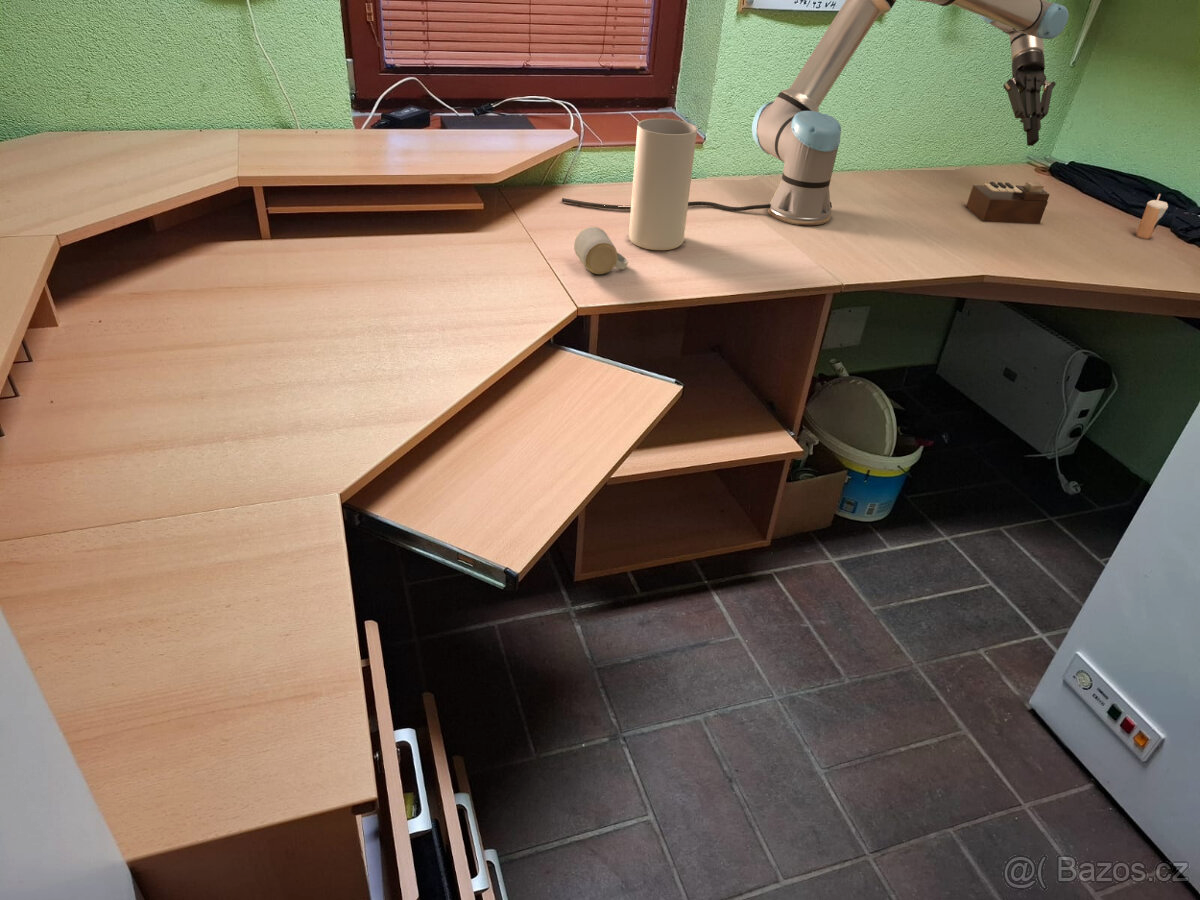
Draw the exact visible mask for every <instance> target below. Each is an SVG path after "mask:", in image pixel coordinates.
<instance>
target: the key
mask: <svg viewBox="0 0 1200 900" xmlns="http://www.w3.org/2000/svg"><path fill="white" fill-rule="evenodd" d="M1023 186H1024V189H1026V190H1027V191H1028V192H1040V193H1042V190H1044V188H1045V187H1044V185H1043V184H1042V183H1040V182H1039V181H1025V183H1024V185H1023Z"/></svg>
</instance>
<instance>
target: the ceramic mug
mask: <svg viewBox="0 0 1200 900" xmlns="http://www.w3.org/2000/svg"><path fill="white" fill-rule="evenodd" d="M573 248H574V254H575V255H576V257H577V258H578V259H579V260H580V262H581V263H582V264H583V265H584V267H585V269H587V270H588V271H589V272H591V273H592V274H595V275H604V274H607V273H609V272H611V271H612V270H613V269H614V268H616V269H619V270H625V269H626V268H627V266H628V264H629V261H628V260H627V258H626V257H625V256H624V255H622V254H621V253H620V252H618V251H617V249H616V245H614V243H613V242H612V240H611V239H610V236H609V235H608V234H607V232H605V230H603V229H602V228H601V227H597V226H589V227H586V228H584V229H582V230H581V231H580V232H579V233H578V234H577V236H576V238H575V240H574V246H573Z"/></svg>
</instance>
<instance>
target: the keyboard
mask: <svg viewBox="0 0 1200 900" xmlns="http://www.w3.org/2000/svg"><path fill="white" fill-rule="evenodd" d="M983 186H986V187H988V188H989V189H990V190H992V191H997V192H999V191H1000V192H1018V193H1022V191H1021V190H1020V189H1018V188H1017V187H1016V185H1014V184H1011V183H1010V182H1005V183H1003V182H1002V181H998V182H997V183H996V182H995V181H990V182H989V183H983Z"/></svg>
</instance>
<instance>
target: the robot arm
mask: <svg viewBox="0 0 1200 900" xmlns="http://www.w3.org/2000/svg"><path fill="white" fill-rule="evenodd" d="M897 1H898V0H845V1H844V2H843V4H842V6H841V8H840V9H839V11H837V14H836V15H835V16H834V19H833V20H832V22H831V23H830V25H829V26H828V28H827V29H826V31H825V33H823V35H822V37H821V39H820V40H819V42H818V43H817V45H816V46H815V48H814V49H813V51H812V53H811V54H810V56H809V57H808V59H807V60H806V62H805V63H804V65H803V67H802V68H801V69H800V71H799V73H798V74H797V76H796V78H795V79H794V81H793V82H792V84H791V85H790V86H789V87H788V88H786V89H783V90H780V92H778V94H777V96H776V98H774V100H772V101H768V102H767V103H763V104H762V105H761V106H760V107H759V109H758V110H757V111H756V113H755V115H754V117H753V120H752V123H751V133H752V139H753V141H754V143H755V145H756V146H757V147H758V148H759V149H761V151H762V152H764V153H766V154H767V155H768V156H769V155H770V156H772V157H774V158H775V159H778V160H779V161H781V162H783V164H784V165H783V170H782V175H781V180H780V183H779V184H778V186H777V188H776V190H775V192H774V194H773V195H772V198H771V199H770V202H769V203H767V204H753V205H746V206H729V205H725V204H720V203H717V202H712V201H703V200H702V201H701V200H700V201H698V200H697V201H688V207H693V206H707V207H713V208H716V209H721V210H725V211H730V212H731V211H732V212H744V211H751V210H763V209H768V212H767V213H768V214H769V215H770V216H771V217H772V218H774V219H776V220H778V221H780V222H783V223H787V224H791V225H797V226H808V227H809V226H810V227H811V226H820V225H824V224H826V223H828V222H829V221H830V219H831V214H832V209H833V205H832V202H831V194H830V184H831V181H832V176H833V172H834V167H835V164H836V163H835V162H836V158H837V154H838V151H839V146H840V143H841V135H842V126H841V123H840V122H839V120H838V119H836V118H835V117H833V116H832V115H830V114H827V113H822V112H820V111H819V108H820V105H822V103H823V101H824V100H825V99H826V97H827V95H828V94H829V92H830V90H831V89H832V87H833V86H834V84H835V83H836V82H837V80H838V78H839V77H840V76H841V74H842V73H843V71H844V70H845V68H846V66H847V65H848V64H849V62H850V60H851V59H852V57H853V56H854V54H855V53H856V52H857V49H858V48H859V47H860V45H861V44H862V42H863V40H864V39H865V37H867V35H868V33H869V32H870V30H871V28H872V27H873V25H874V24H875V23H876V21H877V19H878V18H879V16H880V15H882V14H887V13H889V12H890V11H891V10H892V8H893V7H894V5H895V4H896V2H897ZM916 1H918V2H925V3H931V4H934V5H937V6H940V7H948V6H951V5H952V6H955V7H957V8H960V9H962V10H965V11H967V12H970V13H973V14H975V15H977V16H979V18H980V19H981V20H982V21H984V22H985V23H986V24H988V25H991V26H993V27H994V28H996V29H998V30H1000V31H1002V32H1003V33H1005V34H1007V35H1008V36H1009V42H1010V57H1011V58H1010V59H1011V75H1012V77H1011V78H1009V79H1008V80H1007V81H1006V82H1005V83H1004V84H1003V86H1002V87H1003V89H1004V90H1005V92H1006V93H1007V96H1008V99H1009V103H1010V106H1011V108H1012V112H1013V115H1014V118H1015V119H1020V120H1019V122H1020V123H1021V124H1022V125H1023V126H1022V129H1023V132H1024V133H1025V134H1026V146H1030V147H1033V146H1034V145H1036V144H1037V143H1038V142H1039V141H1040V133H1039V132H1040V131H1041V129H1042V123H1041V121H1042V120H1043V119H1044V118H1045V117H1046V116H1047V115H1048V114H1049V110H1050V104H1051V100H1052V99H1051V98H1052V95H1053V94H1052V93H1053V89H1054V88H1055V86H1056V85H1057V83H1056V82H1055V81H1051V82H1050V81H1049V80H1047V76H1046V74H1045V69H1046V62H1045V44H1044V39H1045V40H1052V39H1055V38H1058V36H1059V35H1060V34H1062V32H1063V31H1064V30H1065V27H1066V25H1067V24H1068V21H1069V10H1068V8H1067V7H1066V6H1065V5H1062V4H1059V3H1058V2H1050V1H1047V0H916ZM1041 91H1043V92H1042V94H1041ZM561 202H562V203H566V204H570V205H571V204H572V205H577V206H584V207H591V208H596V209H597V208H599V209H609V210H624V211H625V210H629V211H631V207H618V206H623V204H622V205H620V204H619V205H618V204H606V203H597V202H588V201H582V200H578V199H571V198H565V197H562V198H561ZM604 205H605V206H604Z"/></svg>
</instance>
